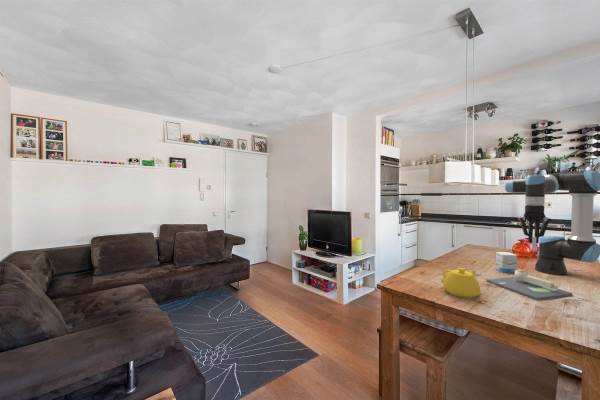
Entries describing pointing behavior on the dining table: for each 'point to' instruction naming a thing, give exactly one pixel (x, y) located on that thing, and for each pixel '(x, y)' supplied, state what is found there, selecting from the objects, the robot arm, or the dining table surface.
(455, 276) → the teapot
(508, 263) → the ink box
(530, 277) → the peg lever
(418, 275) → the dining table surface
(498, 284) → the board
